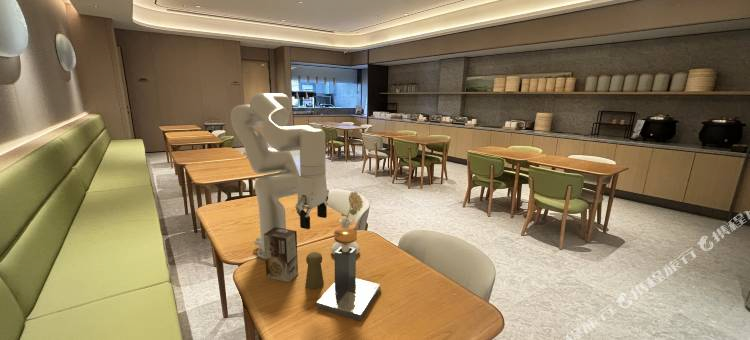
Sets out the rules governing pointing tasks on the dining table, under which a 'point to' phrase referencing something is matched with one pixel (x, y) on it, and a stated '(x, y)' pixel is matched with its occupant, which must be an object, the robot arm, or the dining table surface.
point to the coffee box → (281, 254)
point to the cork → (314, 271)
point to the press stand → (348, 289)
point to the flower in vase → (345, 222)
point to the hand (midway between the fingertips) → (314, 222)
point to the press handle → (345, 237)
